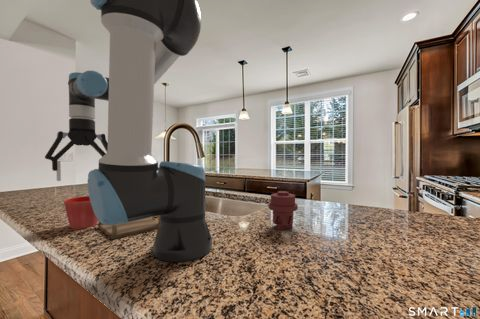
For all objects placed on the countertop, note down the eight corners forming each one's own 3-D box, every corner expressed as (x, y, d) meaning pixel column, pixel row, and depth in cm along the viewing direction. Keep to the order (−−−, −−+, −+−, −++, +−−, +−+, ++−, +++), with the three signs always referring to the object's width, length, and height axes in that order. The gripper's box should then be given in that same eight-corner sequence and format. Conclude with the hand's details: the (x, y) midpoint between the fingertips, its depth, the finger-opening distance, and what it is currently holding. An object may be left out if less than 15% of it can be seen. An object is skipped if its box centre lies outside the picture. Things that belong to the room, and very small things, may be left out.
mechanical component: (268, 222, 83) (295, 223, 82) (268, 231, 73) (299, 232, 72) (268, 189, 83) (295, 189, 82) (268, 194, 73) (300, 194, 72)
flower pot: (88, 230, 74) (88, 201, 74) (56, 230, 74) (55, 201, 74) (108, 221, 85) (107, 195, 85) (79, 221, 85) (79, 195, 85)
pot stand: (163, 227, 78) (163, 209, 78) (112, 239, 66) (112, 218, 66) (144, 218, 89) (144, 202, 89) (98, 227, 78) (98, 209, 77)
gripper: (117, 123, 90) (117, 175, 91) (33, 115, 72) (34, 180, 73) (123, 121, 85) (124, 177, 86) (35, 113, 67) (36, 183, 68)
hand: (83, 179), depth 79 cm, fingers open, 13 cm apart
